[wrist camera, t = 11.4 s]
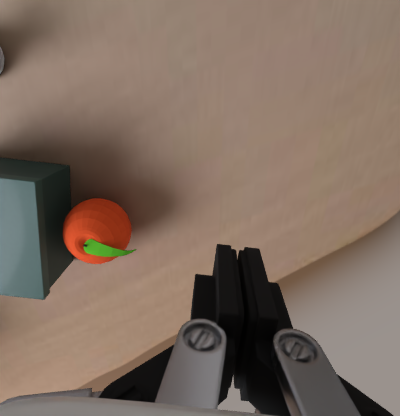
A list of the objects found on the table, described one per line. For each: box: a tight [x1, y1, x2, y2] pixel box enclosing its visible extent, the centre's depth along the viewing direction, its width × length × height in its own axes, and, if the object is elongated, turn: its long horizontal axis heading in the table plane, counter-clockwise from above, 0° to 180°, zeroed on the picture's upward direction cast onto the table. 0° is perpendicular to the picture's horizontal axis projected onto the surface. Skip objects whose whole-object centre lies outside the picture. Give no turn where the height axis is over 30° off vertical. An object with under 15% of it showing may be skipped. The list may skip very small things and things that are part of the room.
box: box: [0, 157, 73, 300], centre depth 32 cm, size 12×10×8 cm
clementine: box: [63, 198, 136, 264], centre depth 32 cm, size 8×7×7 cm
